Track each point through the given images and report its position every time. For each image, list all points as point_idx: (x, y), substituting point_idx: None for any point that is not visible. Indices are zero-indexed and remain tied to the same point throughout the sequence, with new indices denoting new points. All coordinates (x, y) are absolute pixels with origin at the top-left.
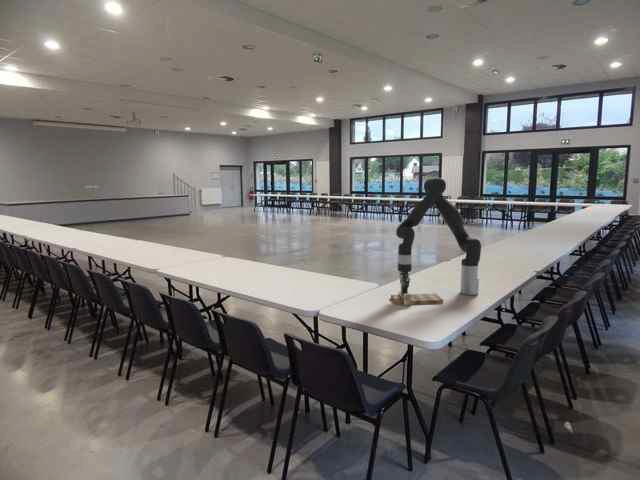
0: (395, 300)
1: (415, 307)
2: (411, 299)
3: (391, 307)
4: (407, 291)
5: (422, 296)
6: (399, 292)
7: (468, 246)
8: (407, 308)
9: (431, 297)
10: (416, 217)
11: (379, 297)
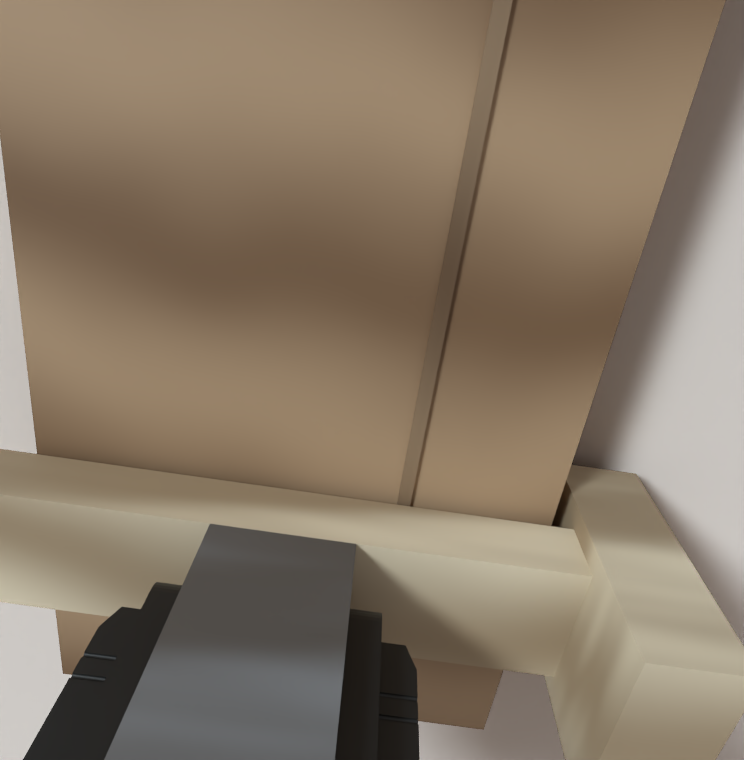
0: (436, 722)
1: (737, 432)
2: (684, 569)
3: (555, 743)
4: (346, 630)
5: (276, 11)
6: (74, 608)
7: None
8: (714, 576)
9: None
10: None
11: (25, 723)
